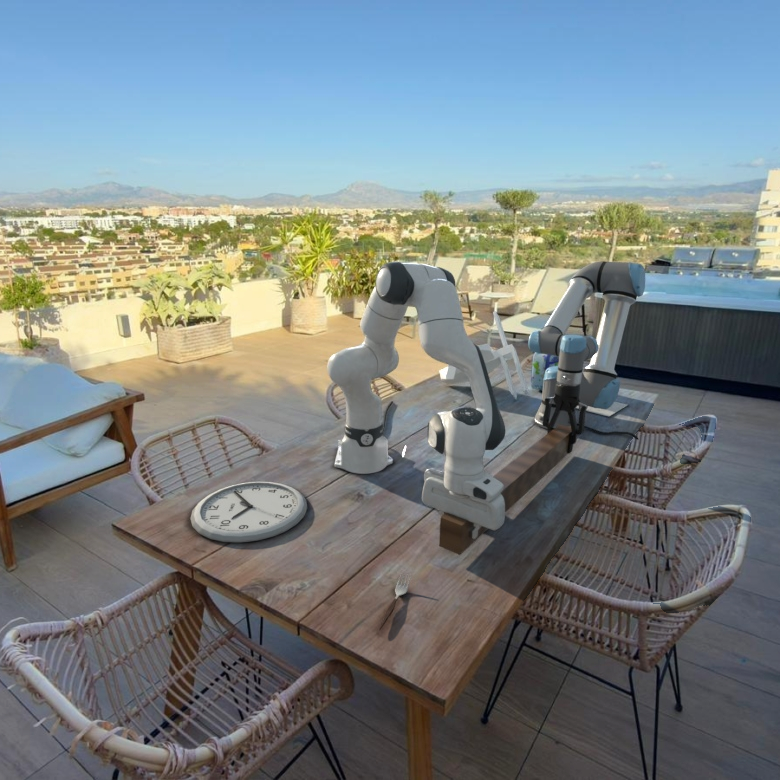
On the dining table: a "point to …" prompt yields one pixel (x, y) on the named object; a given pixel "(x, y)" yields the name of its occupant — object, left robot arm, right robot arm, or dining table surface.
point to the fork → (399, 591)
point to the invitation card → (606, 412)
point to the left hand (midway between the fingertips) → (460, 531)
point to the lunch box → (541, 368)
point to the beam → (510, 485)
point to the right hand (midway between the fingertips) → (560, 449)
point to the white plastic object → (490, 363)
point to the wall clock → (248, 512)
